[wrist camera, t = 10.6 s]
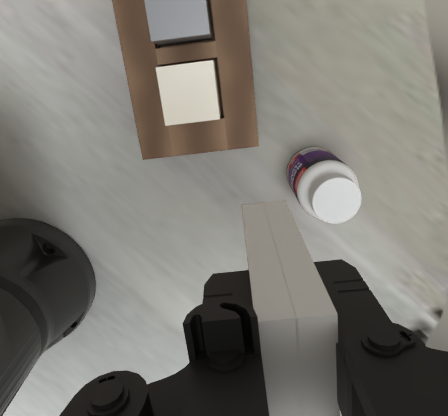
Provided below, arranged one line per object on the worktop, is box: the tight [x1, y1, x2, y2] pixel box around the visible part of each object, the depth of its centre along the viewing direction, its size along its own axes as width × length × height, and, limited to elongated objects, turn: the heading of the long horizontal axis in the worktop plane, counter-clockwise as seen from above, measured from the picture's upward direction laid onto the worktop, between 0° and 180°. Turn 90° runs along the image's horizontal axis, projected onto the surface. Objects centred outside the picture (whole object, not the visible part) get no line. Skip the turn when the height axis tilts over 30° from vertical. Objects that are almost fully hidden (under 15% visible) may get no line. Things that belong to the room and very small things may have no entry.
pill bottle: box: [287, 147, 361, 224], centre depth 35 cm, size 5×5×10 cm
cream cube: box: [156, 60, 221, 126], centre depth 33 cm, size 5×5×5 cm
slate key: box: [144, 0, 212, 46], centre depth 31 cm, size 5×5×5 cm
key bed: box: [112, 0, 259, 160], centre depth 33 cm, size 11×24×4 cm, turn 7°
